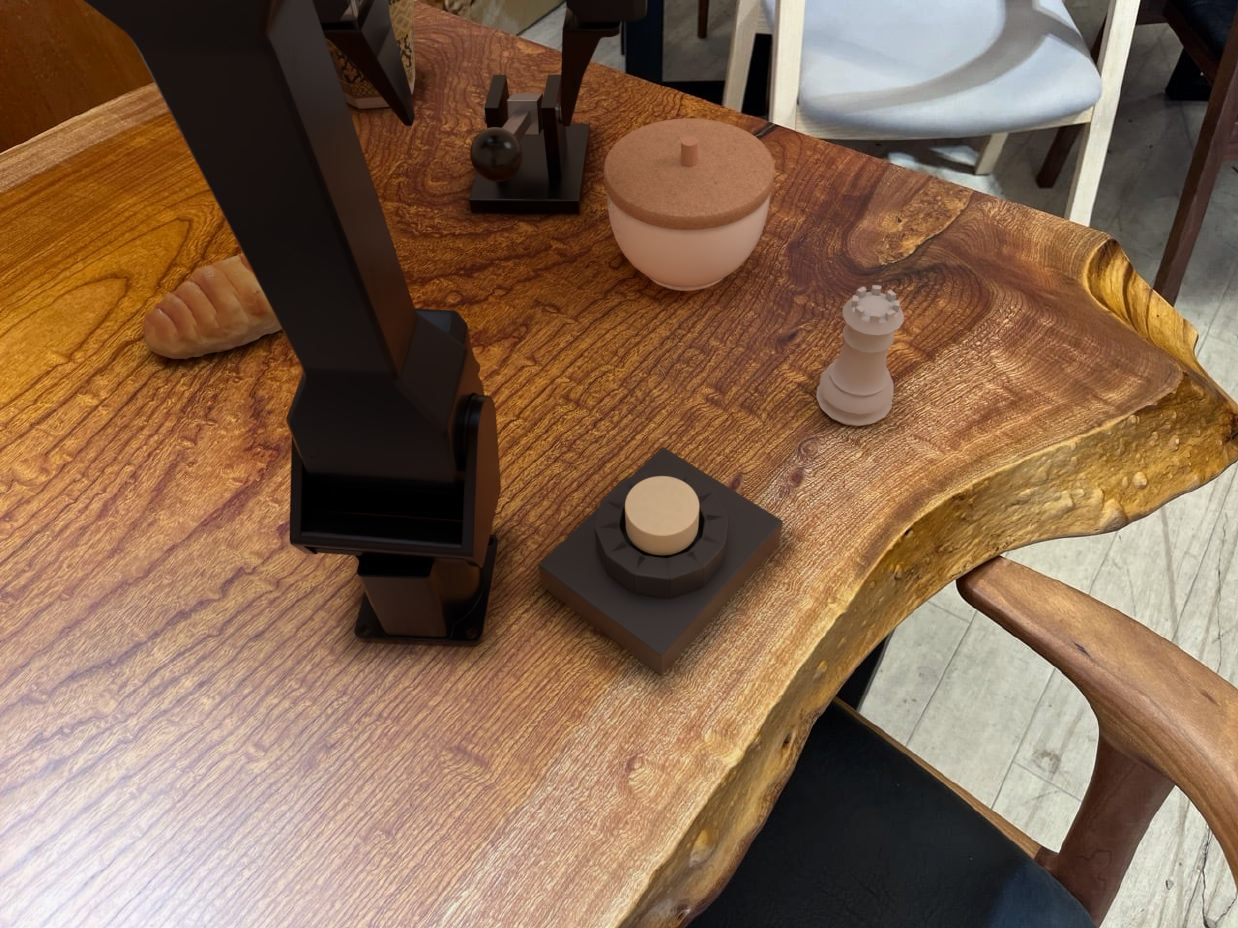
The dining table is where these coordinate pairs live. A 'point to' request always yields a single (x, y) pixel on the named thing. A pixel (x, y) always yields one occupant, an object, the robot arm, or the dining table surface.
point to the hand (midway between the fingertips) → (488, 122)
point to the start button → (662, 515)
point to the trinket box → (688, 199)
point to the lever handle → (507, 138)
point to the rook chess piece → (862, 360)
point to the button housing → (660, 566)
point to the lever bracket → (536, 160)
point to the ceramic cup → (355, 82)
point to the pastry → (210, 312)
